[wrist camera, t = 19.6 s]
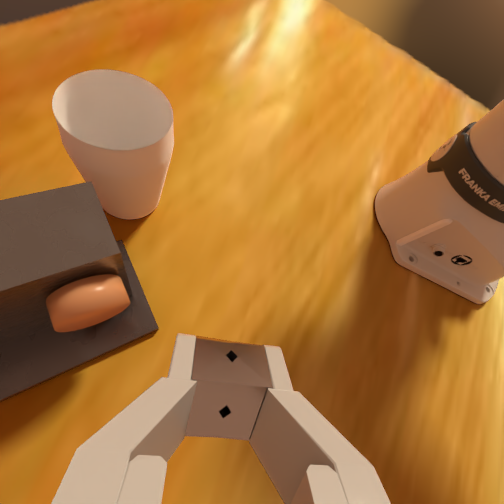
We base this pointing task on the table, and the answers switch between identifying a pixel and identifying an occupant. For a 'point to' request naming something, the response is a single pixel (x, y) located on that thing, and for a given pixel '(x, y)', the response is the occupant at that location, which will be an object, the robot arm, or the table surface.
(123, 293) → the knob
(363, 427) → the table surface
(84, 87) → the cup
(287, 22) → the table surface
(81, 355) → the mount
